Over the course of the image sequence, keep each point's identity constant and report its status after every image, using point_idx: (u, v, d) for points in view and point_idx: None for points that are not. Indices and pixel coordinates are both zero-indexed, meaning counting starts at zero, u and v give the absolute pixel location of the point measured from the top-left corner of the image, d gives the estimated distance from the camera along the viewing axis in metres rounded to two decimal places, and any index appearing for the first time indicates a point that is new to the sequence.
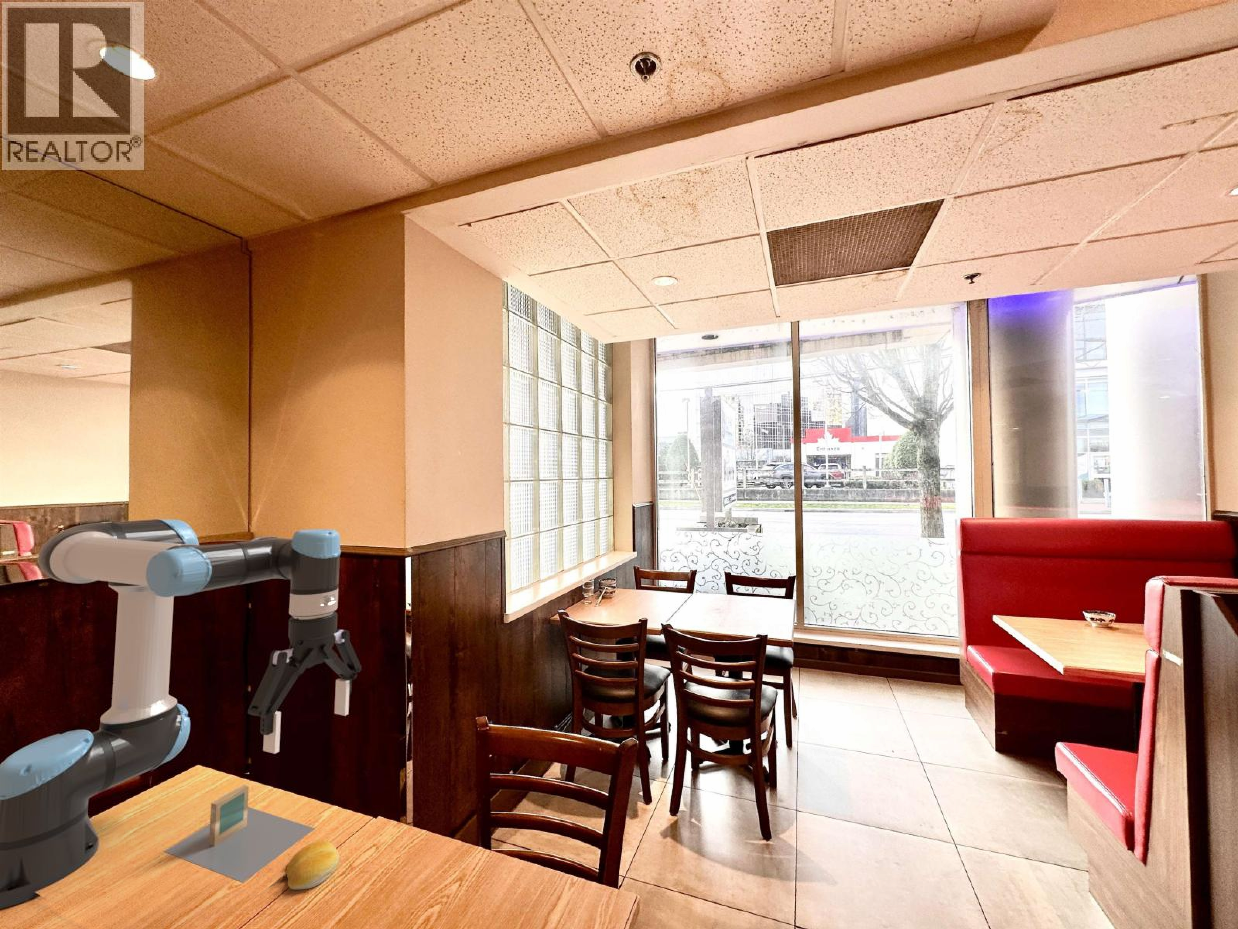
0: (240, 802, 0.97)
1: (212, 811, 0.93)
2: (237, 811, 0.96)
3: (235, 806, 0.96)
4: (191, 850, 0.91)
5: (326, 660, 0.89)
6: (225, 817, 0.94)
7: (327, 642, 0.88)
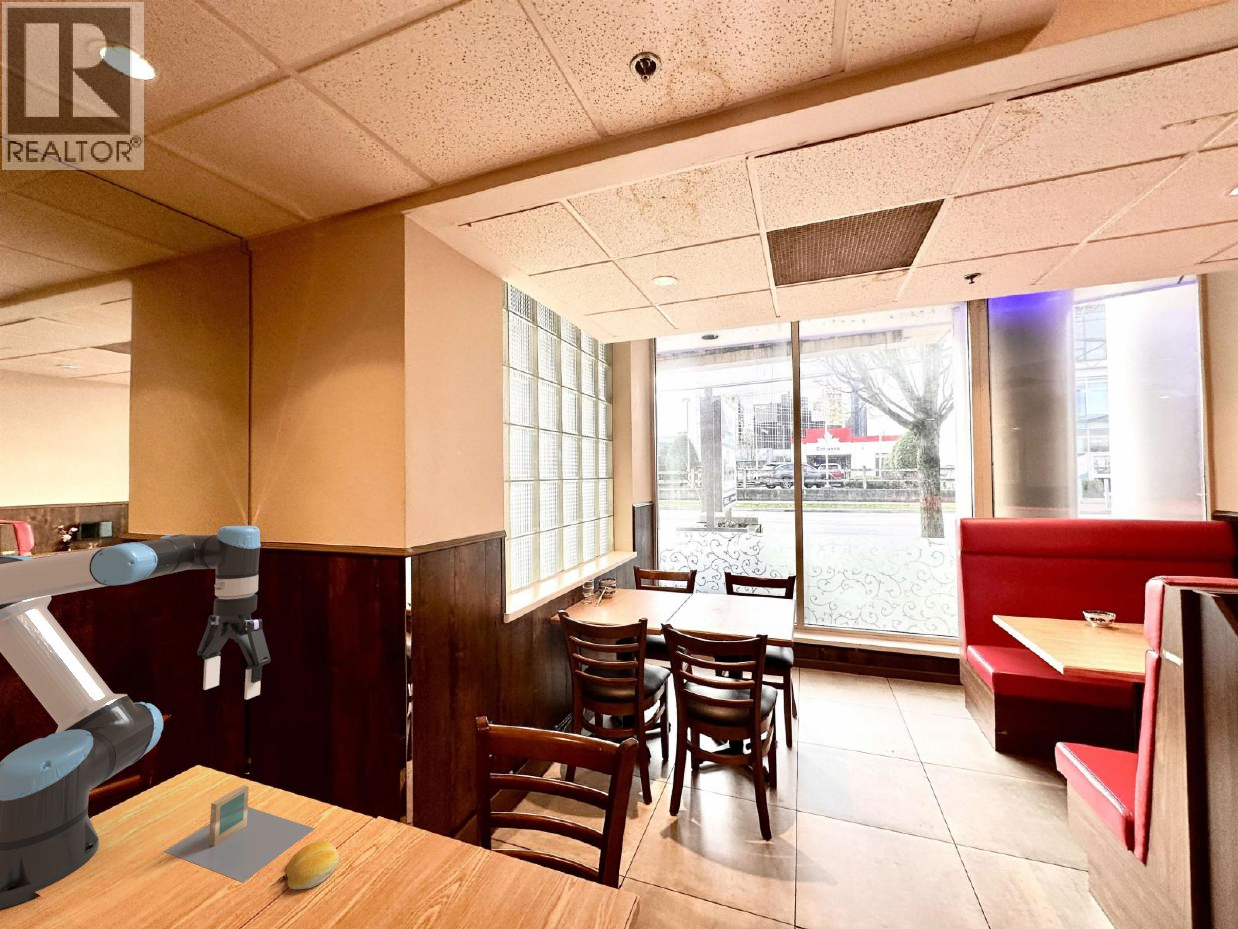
0: (240, 802, 0.97)
1: (212, 811, 0.93)
2: (237, 811, 0.96)
3: (235, 806, 0.96)
4: (191, 850, 0.91)
5: None
6: (225, 817, 0.94)
7: (235, 623, 1.03)
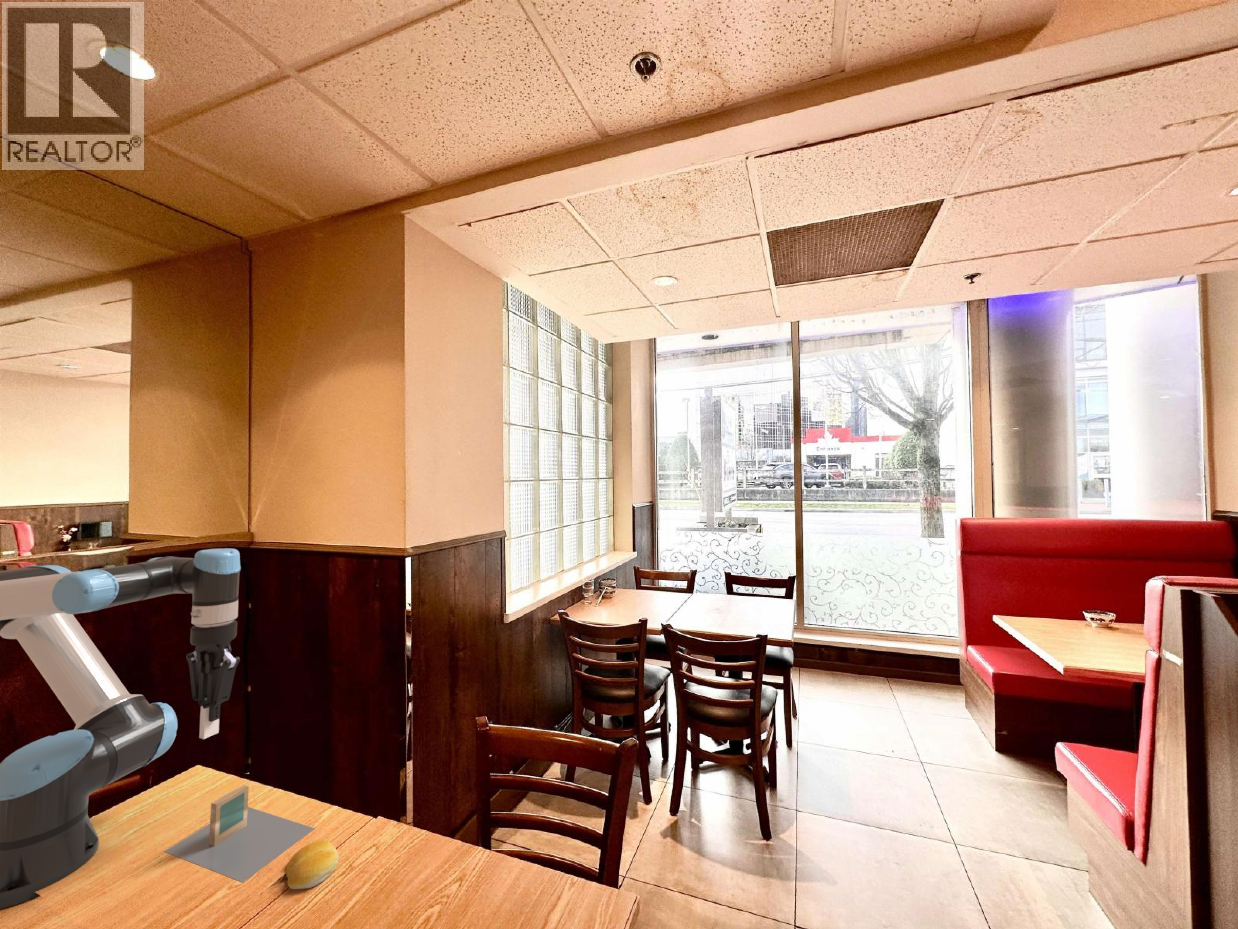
0: (240, 802, 0.97)
1: (212, 811, 0.93)
2: (237, 811, 0.96)
3: (235, 806, 0.96)
4: (191, 850, 0.91)
5: None
6: (225, 817, 0.94)
7: (214, 649, 0.97)
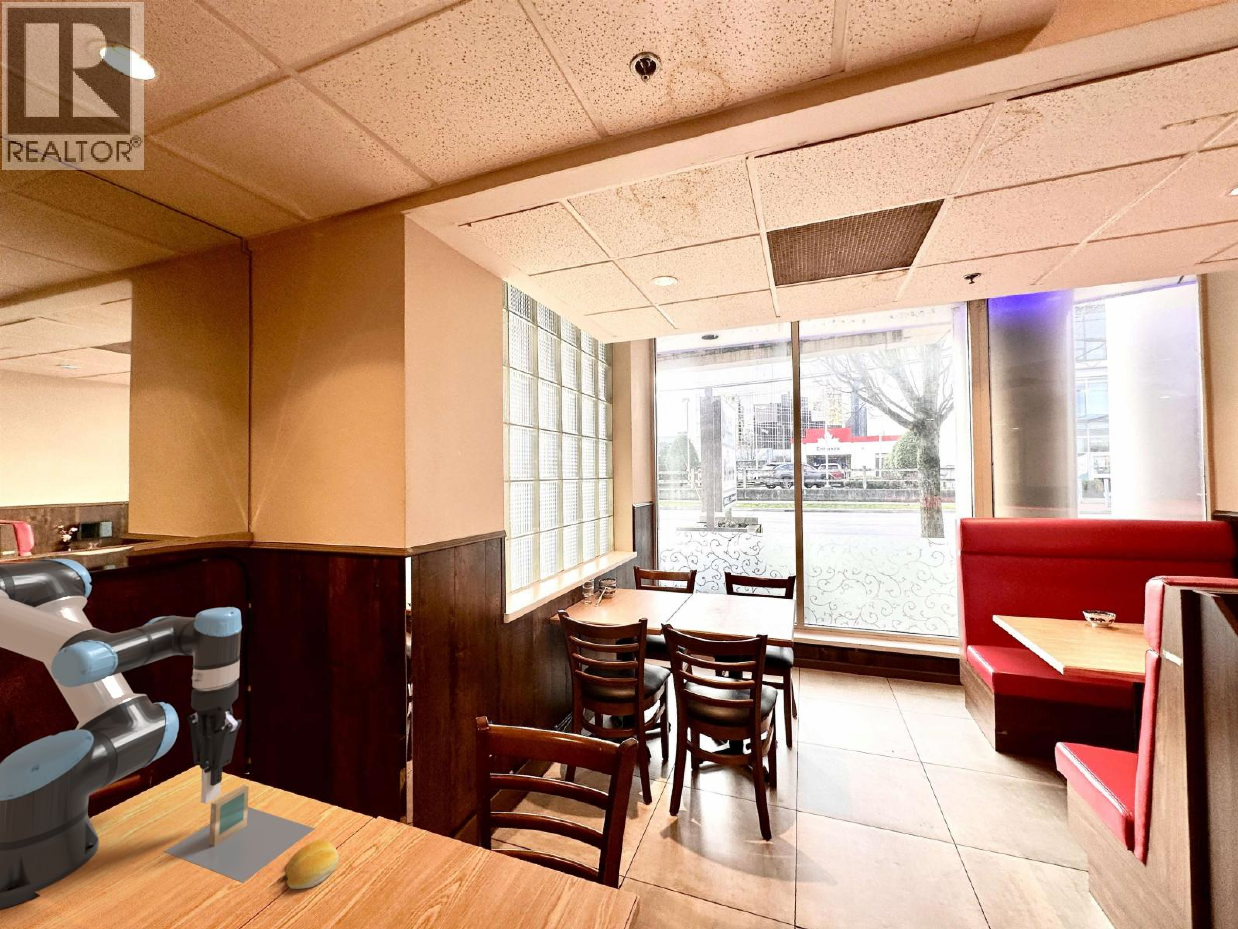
0: (240, 802, 0.97)
1: (212, 811, 0.93)
2: (237, 811, 0.96)
3: (235, 806, 0.96)
4: (191, 850, 0.91)
5: None
6: (225, 817, 0.94)
7: (216, 713, 0.96)
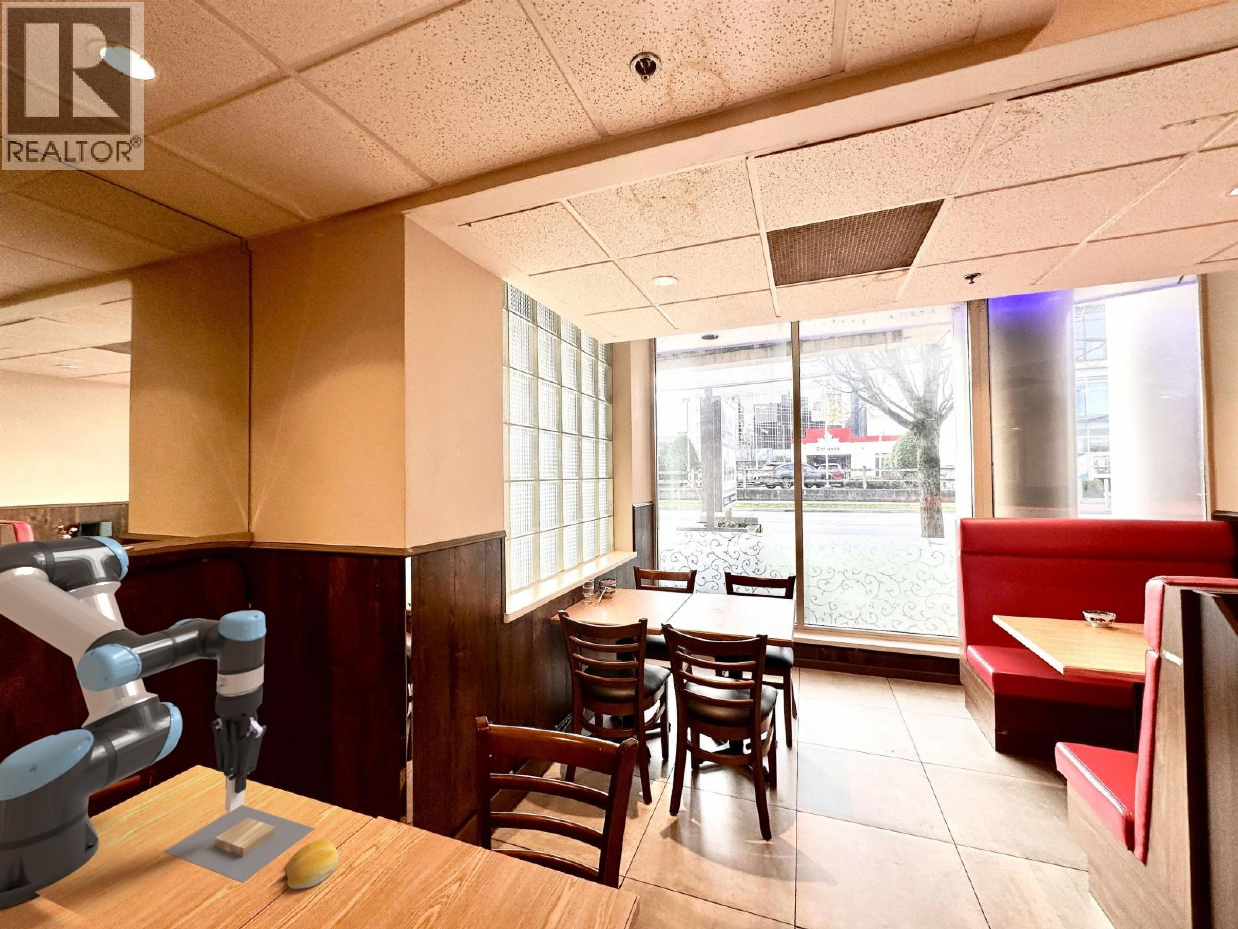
0: None
1: (238, 849, 0.90)
2: None
3: None
4: (191, 850, 0.91)
5: None
6: None
7: (240, 719, 0.94)
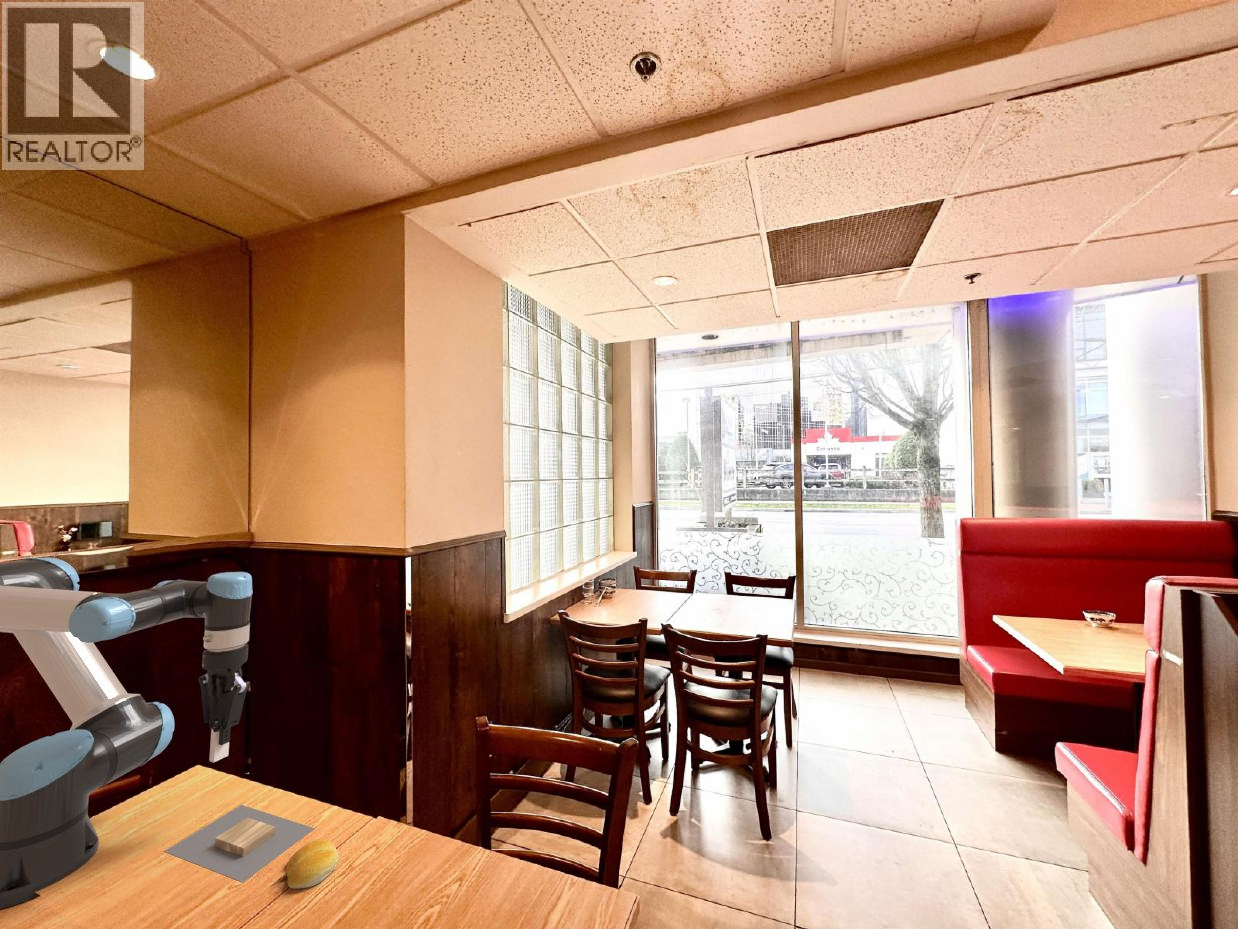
0: None
1: (238, 849, 0.90)
2: None
3: None
4: (191, 850, 0.91)
5: None
6: None
7: (225, 674, 0.98)
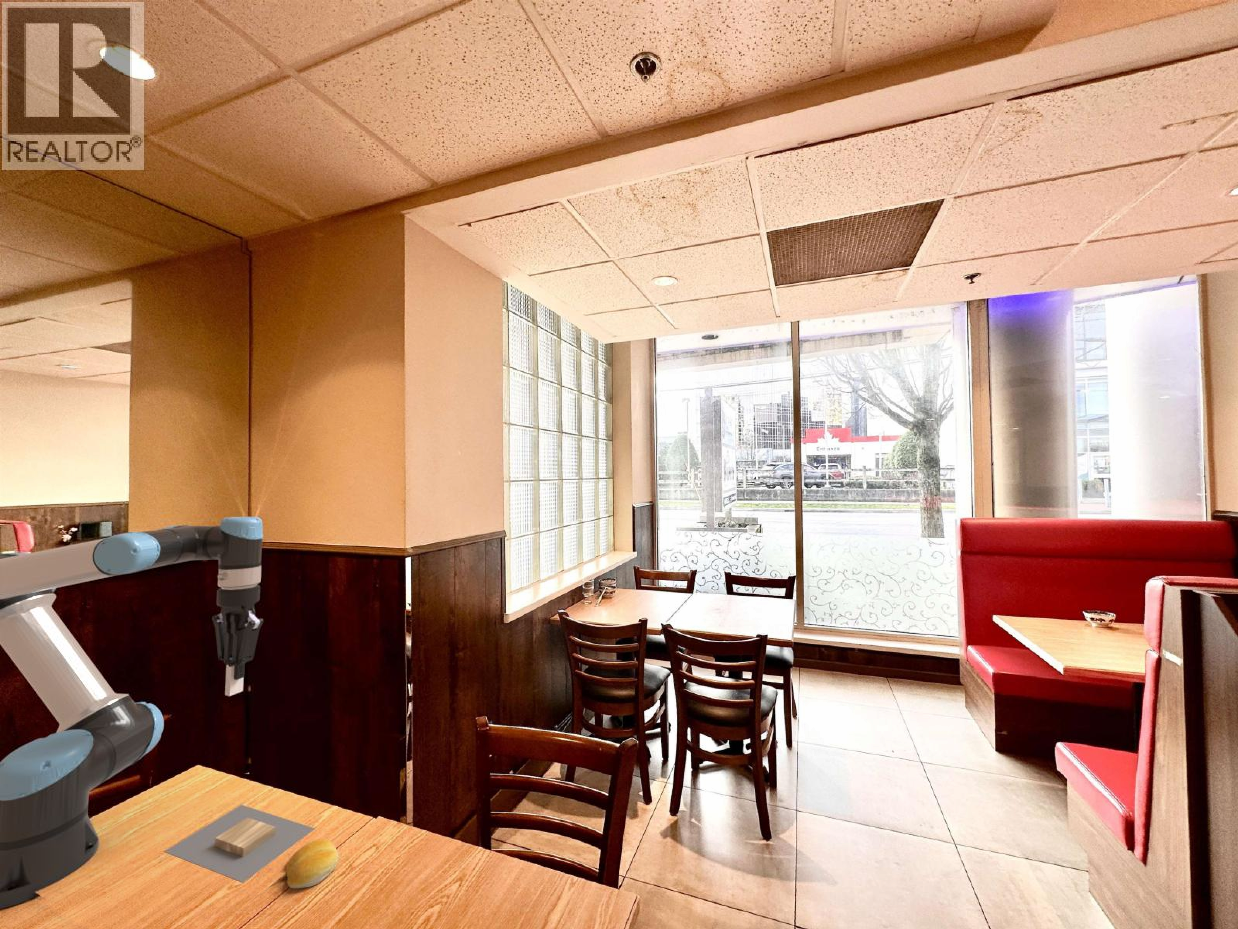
0: None
1: (238, 849, 0.90)
2: None
3: None
4: (191, 850, 0.91)
5: None
6: None
7: (239, 611, 1.03)
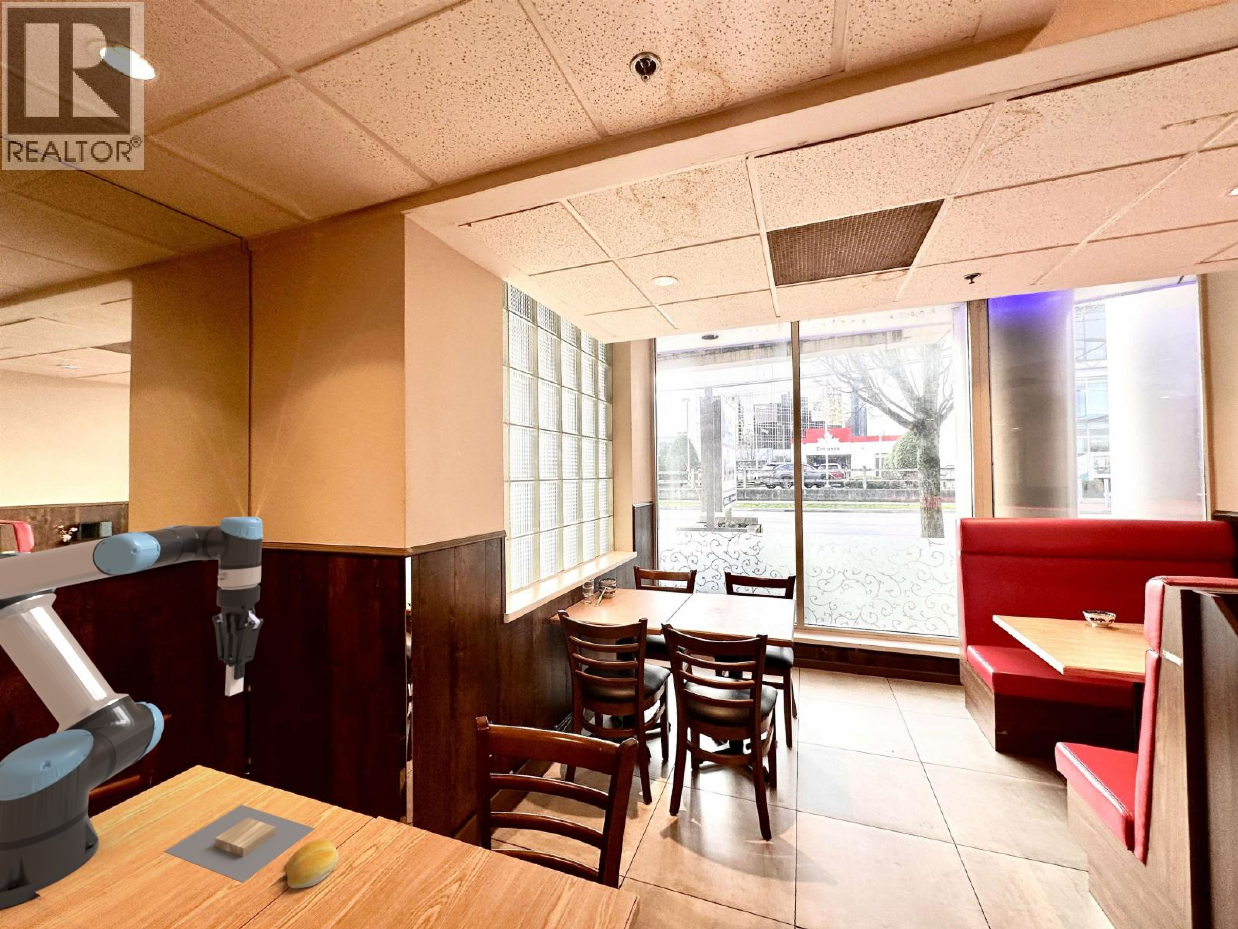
0: None
1: (238, 849, 0.90)
2: None
3: None
4: (191, 850, 0.91)
5: None
6: None
7: (239, 611, 1.03)
